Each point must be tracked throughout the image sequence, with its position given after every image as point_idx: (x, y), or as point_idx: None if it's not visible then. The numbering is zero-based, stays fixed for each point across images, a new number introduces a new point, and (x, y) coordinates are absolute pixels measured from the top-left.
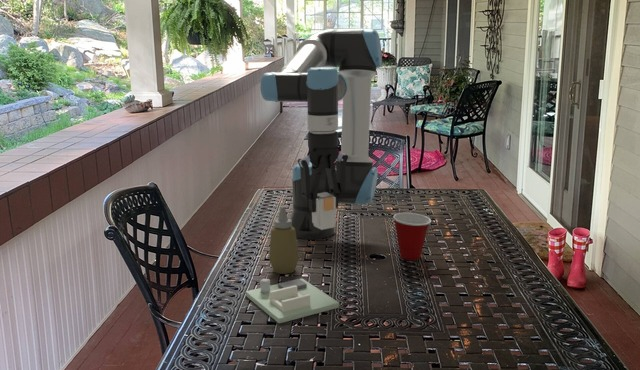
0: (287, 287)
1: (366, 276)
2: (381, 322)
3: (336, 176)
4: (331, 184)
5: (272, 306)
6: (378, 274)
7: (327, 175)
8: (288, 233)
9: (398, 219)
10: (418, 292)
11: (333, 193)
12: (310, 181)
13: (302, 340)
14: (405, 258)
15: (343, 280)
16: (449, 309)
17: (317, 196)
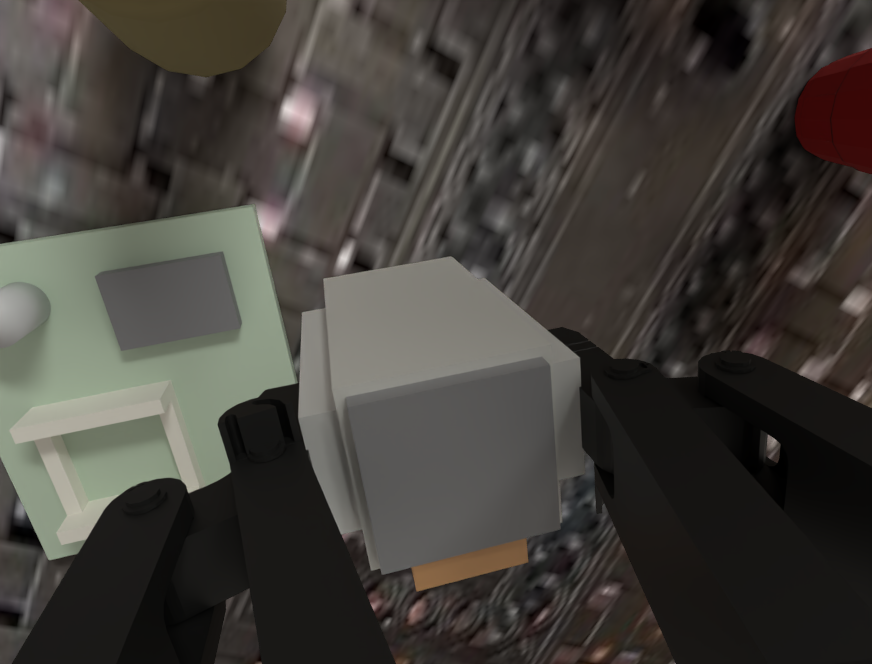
0: (112, 413)
1: (551, 248)
2: (407, 604)
3: None
4: (640, 544)
5: (37, 459)
6: (605, 247)
7: (712, 596)
8: (163, 24)
9: None
10: None
11: (600, 451)
12: (257, 634)
13: None
14: (799, 134)
15: (444, 253)
16: (628, 573)
17: (364, 485)
